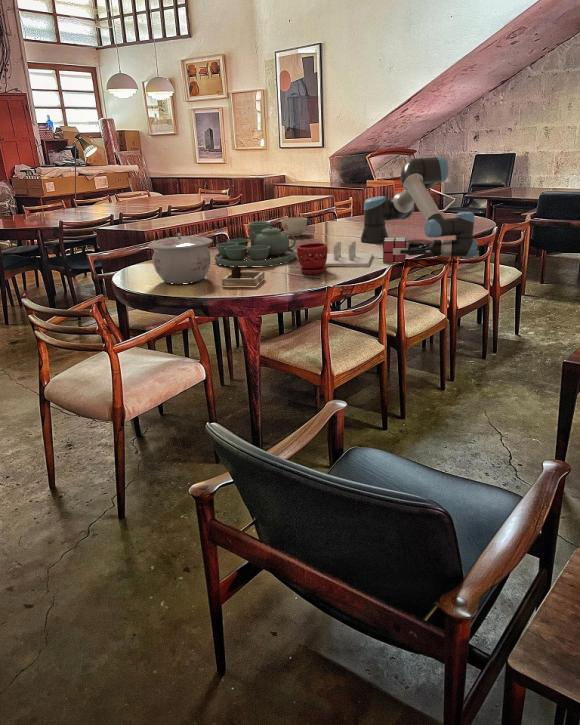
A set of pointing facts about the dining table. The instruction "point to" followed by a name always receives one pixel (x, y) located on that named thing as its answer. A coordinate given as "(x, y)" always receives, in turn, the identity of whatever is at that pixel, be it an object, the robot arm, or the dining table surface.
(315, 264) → the plant pot
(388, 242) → the puzzle cube
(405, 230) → the dining table surface
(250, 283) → the watch display frame
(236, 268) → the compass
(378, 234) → the robot arm
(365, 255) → the standoff plate
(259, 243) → the tea set
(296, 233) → the bowl
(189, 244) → the chamber pot
